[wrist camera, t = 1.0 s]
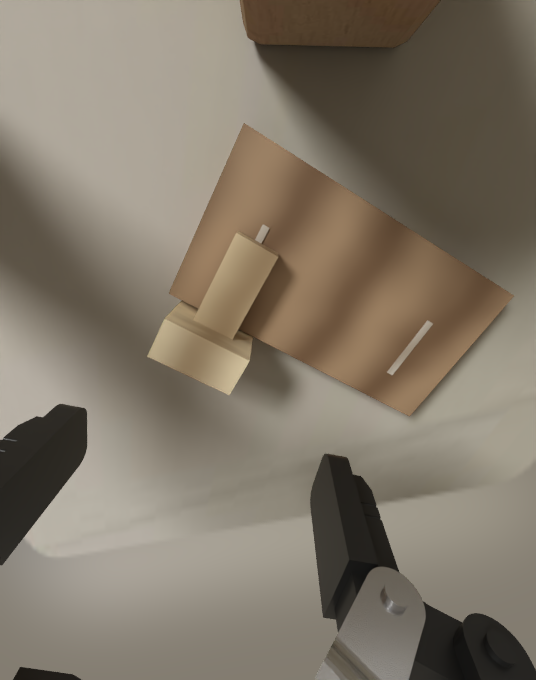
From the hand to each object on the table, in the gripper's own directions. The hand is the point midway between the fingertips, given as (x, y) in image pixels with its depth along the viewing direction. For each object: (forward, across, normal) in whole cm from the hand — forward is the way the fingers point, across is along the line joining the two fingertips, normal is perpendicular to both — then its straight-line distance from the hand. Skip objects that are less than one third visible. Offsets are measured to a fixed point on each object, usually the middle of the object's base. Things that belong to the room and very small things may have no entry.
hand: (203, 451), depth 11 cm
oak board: (+17, -6, -3) cm, 18 cm away
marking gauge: (+17, +1, -1) cm, 17 cm away
